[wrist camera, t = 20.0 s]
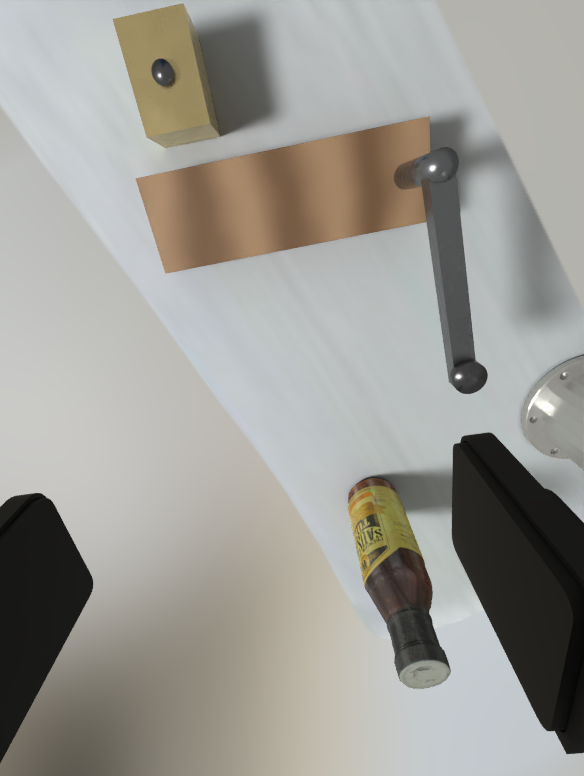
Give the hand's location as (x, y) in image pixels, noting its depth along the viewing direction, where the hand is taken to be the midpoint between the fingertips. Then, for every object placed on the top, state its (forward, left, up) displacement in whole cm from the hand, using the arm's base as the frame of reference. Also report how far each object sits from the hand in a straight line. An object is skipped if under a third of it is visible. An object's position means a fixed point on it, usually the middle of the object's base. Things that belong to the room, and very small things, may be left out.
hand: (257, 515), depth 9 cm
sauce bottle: (-7, +27, -30) cm, 41 cm away
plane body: (-3, -7, -30) cm, 31 cm away
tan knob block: (+4, -16, -30) cm, 34 cm away
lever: (-12, 0, -26) cm, 29 cm away
